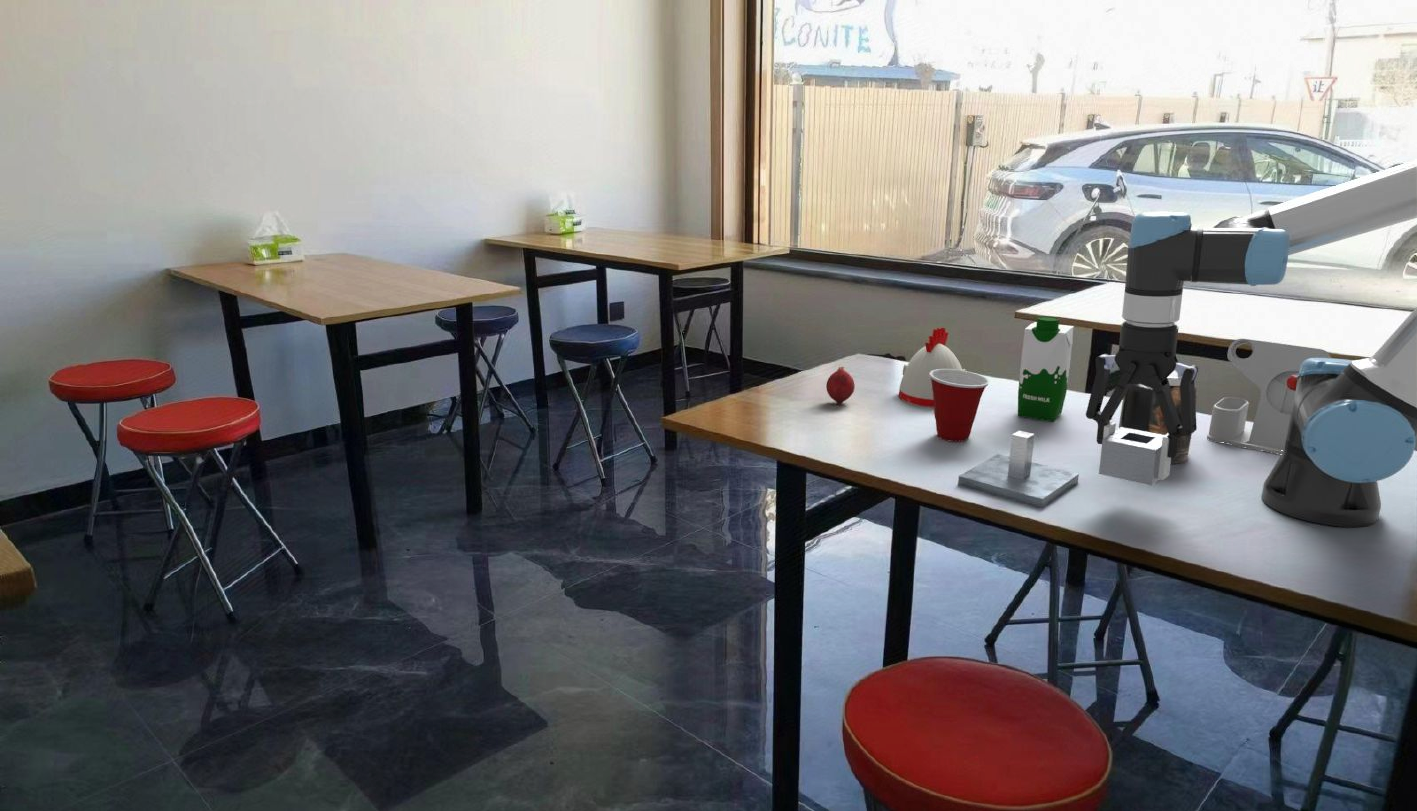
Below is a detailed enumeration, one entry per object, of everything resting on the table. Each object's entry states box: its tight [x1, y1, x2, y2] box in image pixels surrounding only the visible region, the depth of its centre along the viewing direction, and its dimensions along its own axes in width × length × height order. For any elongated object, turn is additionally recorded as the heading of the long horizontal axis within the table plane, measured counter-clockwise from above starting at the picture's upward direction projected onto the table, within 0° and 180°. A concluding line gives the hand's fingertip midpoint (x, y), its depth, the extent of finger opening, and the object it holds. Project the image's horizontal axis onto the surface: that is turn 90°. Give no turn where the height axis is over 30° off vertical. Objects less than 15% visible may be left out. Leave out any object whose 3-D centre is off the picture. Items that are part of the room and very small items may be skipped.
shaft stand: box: [957, 430, 1080, 509], centre depth 149 cm, size 14×14×8 cm
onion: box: [825, 365, 855, 404], centre depth 191 cm, size 6×6×8 cm
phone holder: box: [1206, 338, 1332, 454], centre depth 166 cm, size 17×10×18 cm, turn 48°
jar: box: [1118, 370, 1198, 465], centre depth 162 cm, size 12×12×15 cm
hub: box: [1098, 427, 1164, 486], centre depth 138 cm, size 8×8×6 cm
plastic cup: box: [929, 369, 991, 442], centre depth 171 cm, size 11×11×12 cm
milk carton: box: [1017, 316, 1075, 423], centre depth 182 cm, size 9×9×20 cm
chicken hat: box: [898, 327, 967, 408], centre depth 195 cm, size 14×14×15 cm
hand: (1134, 470), depth 139 cm, fingers closed on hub, 8 cm apart
